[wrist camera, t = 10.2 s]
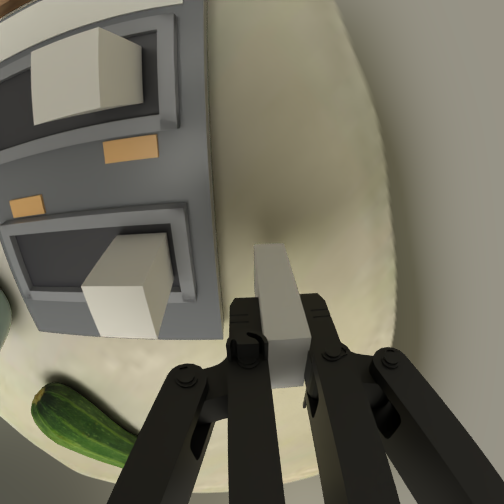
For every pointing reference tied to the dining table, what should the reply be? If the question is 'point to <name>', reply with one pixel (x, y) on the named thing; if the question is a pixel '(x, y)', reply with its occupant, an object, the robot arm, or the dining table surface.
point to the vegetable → (80, 425)
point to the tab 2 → (130, 286)
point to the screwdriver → (10, 5)
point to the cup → (4, 318)
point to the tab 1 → (85, 75)
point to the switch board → (111, 166)
